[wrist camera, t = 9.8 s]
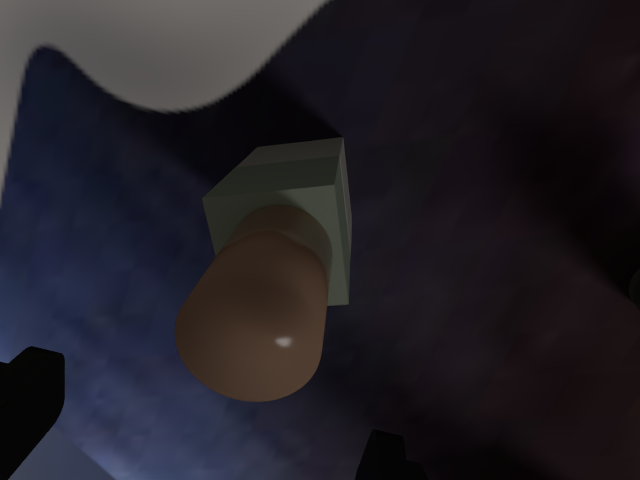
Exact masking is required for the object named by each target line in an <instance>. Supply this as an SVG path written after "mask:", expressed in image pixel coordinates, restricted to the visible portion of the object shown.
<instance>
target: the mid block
mask: <svg viewBox="0 0 640 480" xmlns="http://www.w3.org/2000/svg"><path fill="white" fill-rule="evenodd" d="M202 201H203V205H204V209H205V214H206V218H207V222H208V226H209V230H210V235H211V239H212V243H213V247H214V251H215V256H217V254H218V253H219V252H220V250H221V249H222V247H223V246H224V244H225V243H226V241H227V240H228V239H229V237H230V236H231V234H232V233H233V231H234V230H235V228H236V227H237V226H238V224H239V223H240V222H241V220H242V219H243V218H245V217H246V216H247V215H248V214H250V213H251V212H253V211H255V210H257V209H259V208H262V207H265V206H270V205H286V206H292V207H295V208H298V209H300V210H303V211H305V212H306V213H308V214H310V215H311V216H313V217H314V218H315V219H316V220H317V221H318V222H319V223H320V224H321V225H322V226H323V228H324V229H325V231H326V232H327V234H328V236H329V239H330V241H331V245H332V252H333V258H332V268H331V277H330V285H329V294H328V303H327V306H333V305H347V304H349V276H350V246H349V237H348V228H347V219H346V210H345V201H344V192H343V183H342V174H341V165H340V156H331V157H322V158H313V159H304V160H295V161H286V162H277V163H268V164H259V165H250V166H241V167H235V168H234V169H233V170H232V171H231V172H230V173H229V174H228V175H227V176H225V177H224V178H223V179H222V180H221V181H220V182H219V183H218V184H217V185H216V186H215V187H214V188H213V189H212V190H211V191H209V192H208V193H207V194H206V195H205V196H204V197H203V198H202Z"/></svg>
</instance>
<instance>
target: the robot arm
mask: <svg viewBox="0 0 640 480" xmlns="http://www.w3.org/2000/svg"><path fill="white" fill-rule="evenodd" d="M64 399H65V359H64V355H63V354H62V353H58V352H54V351H50V350H46V349H41V348H37V347H33V346H31V347H28V348H26V349H25V350H23V351H22V352H21V353H20V354H19V355H18V356H16V357H15V358H14V359H13V360H12V361H11V362H10V363H8V364H7V363H3V362H0V480H8V479H9V478H10V476H11V475H12V474H13V473H14V472H15V471H16V469H17V468H18V467H19V466H20V465H21V463H22V462H23V461H24V460H25V459H26V457H27V456H28V455H29V454H30V453H31V451H32V450H33V449H34V448H35V447H36V445H37V444H38V443H39V442H40V441H41V439H42V438H43V437H44V436H45V434H46V433H47V432H48V431H49V430H50V428H51V427H52V426H53V425H54V424H55V422H56V421H57V419H58V417H59V415H60V413H61V411H62V408H63V405H64ZM355 480H429V479H428V477H427V475H426V474H425V472H424V470H423V468H422V466H421V464H420V463H416V462H412V461H407V460H406V455H405V446H404V440H403V437H402V436H399V435H395V434H391V433H387V432H383V431H378V430H372V432H371V434H370V437H369V439H368V442H367V445H366V448H365V450H364V453H363V456H362V458H361V461H360V464H359V467H358V469H357V473H356V477H355Z"/></svg>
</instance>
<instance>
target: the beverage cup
mask: <svg viewBox="0 0 640 480" xmlns="http://www.w3.org/2000/svg"><path fill="white" fill-rule="evenodd" d="M628 293H629V295H630V298H631V300H632V301H633V302H634V303H635V304H636V306H637V307H638V308H639V309H640V268H639V269H638V270H637V271H636V272H635V274H634V275H633V276H632V278H631V281H630V283H629V292H628Z"/></svg>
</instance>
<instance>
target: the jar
mask: <svg viewBox="0 0 640 480" xmlns="http://www.w3.org/2000/svg"><path fill="white" fill-rule="evenodd" d="M332 258H333V252H332V245H331V241H330V239H329V236H328V234H327V232H326V231H325V229H324V228H323V226H322V225H321V224H320V223H319V222H318V221H317V220H316V219H315V218H314V217H313V216H311V215H310V214H308V213H306V212H305V211H303V210H300V209H298V208H295V207H292V206H286V205H270V206H265V207H262V208H259V209H257V210H255V211H253V212H251V213H250V214H248V215H247V216H246V217H245V218H243V219H242V220H241V222H240V223H239V224H238V226H237V227H236V228H235V230H234V231H233V233H232V234H231V236H230V237H229V239H228V240H227V241H226V243H225V244H224V246H223V247H222V249H221V250H220V252H219V253H218V254H217V256H216V257H215V259H214V260H213V262H212V263H211V265H210V266H209V267H208V269H207V270H206V272H205V273H204V275H203V276H202V278H201V279H200V280H199V282H198V283H197V285H196V286H195V288H194V289H193V291H192V292H191V293H190V295H189V296H188V298H187V299H186V301H185V302H184V304H183V305H182V307H181V309H180V311H179V313H178V316H177V318H176V323H175V342H176V346H177V349H178V352H179V355H180V357H181V359H182V361H183V362H184V364H185V366H186V367H187V368H188V370H189V371H190V372H191V373H192V374H193V375H194V376H195V377H196V378H197V379H198V380H199V381H200V382H201V383H203V384H204V385H205V386H207V387H208V388H210V389H212V390H213V391H215V392H217V393H219V394H222V395H224V396H227V397H230V398H233V399H237V400H242V401H251V402H264V401H271V400H276V399H280V398H283V397H285V396H288V395H290V394H292V393H294V392H296V391H297V390H299V389H300V388H302V387H303V386H304V385H305V384H306V383H307V382H308V381H309V380H310V379H311V377H312V376H313V375H314V373H315V371H316V370H317V368H318V365H319V362H320V359H321V354H322V346H323V337H324V329H325V320H326V311H327V303H328V294H329V285H330V277H331V268H332Z"/></svg>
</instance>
